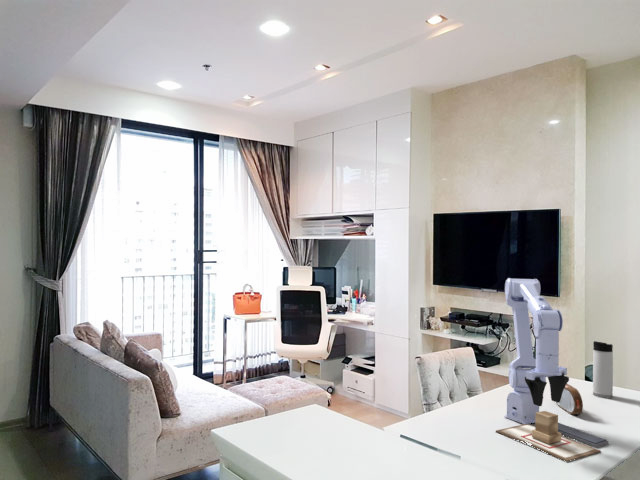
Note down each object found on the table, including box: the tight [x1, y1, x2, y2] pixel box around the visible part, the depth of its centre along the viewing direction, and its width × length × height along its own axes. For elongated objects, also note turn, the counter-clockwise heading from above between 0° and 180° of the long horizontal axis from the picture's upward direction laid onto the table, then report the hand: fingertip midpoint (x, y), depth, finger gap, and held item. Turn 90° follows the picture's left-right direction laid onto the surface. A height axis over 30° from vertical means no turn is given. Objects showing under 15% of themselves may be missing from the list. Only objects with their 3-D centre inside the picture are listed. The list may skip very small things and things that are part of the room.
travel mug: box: [592, 340, 614, 399], centre depth 176 cm, size 6×7×20 cm
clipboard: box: [495, 424, 602, 462], centre depth 131 cm, size 14×22×1 cm, turn 28°
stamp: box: [532, 410, 562, 445], centre depth 131 cm, size 5×5×7 cm
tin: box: [555, 383, 584, 415], centre depth 159 cm, size 15×3×8 cm, turn 179°
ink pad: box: [558, 422, 610, 449], centre depth 136 cm, size 6×17×1 cm, turn 28°
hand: (546, 403), depth 131 cm, fingers open, 7 cm apart
